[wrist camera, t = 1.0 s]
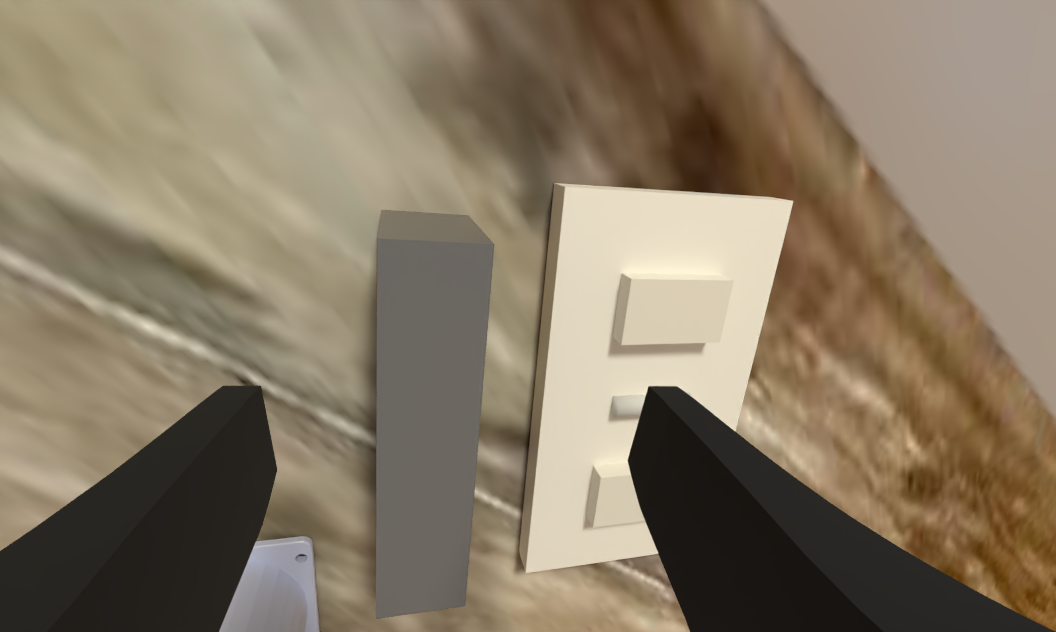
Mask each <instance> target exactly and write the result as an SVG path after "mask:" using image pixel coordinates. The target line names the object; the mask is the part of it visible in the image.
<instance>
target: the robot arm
mask: <svg viewBox="0 0 1056 632" xmlns="http://www.w3.org/2000/svg"><path fill="white" fill-rule="evenodd" d="M627 461H628V465H629V469H630V473H631V477H632V481H633V485H634V488H635V492H636V495H637V499H638V502H639V506H640V509H641V512H642V514H643V517H644V519H645V522H646V524H647V527H648V529H649V532H650V534H651V537H652V539H653V541H654V544H655V546H656V549H657V551H658V554H659V556H660V558H661V561H662V563H663V566H664V568H665V571H666V573H667V575H668V578H669V580H670V583H671V585H672V587H673V590H674V592H675V595H676V597H677V599H678V602H679V604H680V607H681V609H682V612H683V614H684V616H685V619H686V621H687V624H688V627H689V629H690V632H1055V631H1053V630H1051V629H1049V628H1047V627H1045V626H1043V625H1041V624H1039V623H1037V622H1035V621H1033V620H1031V619H1028V618H1026V617H1024V616H1022V615H1020V614H1019V613H1017V612H1015V611H1013V610H1011V609H1009V608H1007V607H1005V606H1003V605H1001V604H999V603H998V602H996V601H994V600H992V599H990V598H988V597H986V596H984V595H982V594H980V593H979V592H977V591H975V590H973V589H971V588H969V587H968V586H966V585H964V584H962V583H961V582H959V581H957V580H955V579H953V578H952V577H950V576H948V575H946V574H944V573H943V572H941V571H939V570H937V569H936V568H934V567H932V566H930V565H928V564H927V563H925V562H923V561H921V560H920V559H918V558H916V557H915V556H913V555H911V554H910V553H908V552H906V551H905V550H903V549H901V548H899V547H898V546H896V545H895V544H893V543H891V542H890V541H888V540H887V539H885V538H883V537H882V536H880V535H879V534H877V533H876V532H874V531H872V530H871V529H869V528H868V527H866V526H865V525H863V524H861V523H860V522H858V521H857V520H855V519H853V518H852V517H850V516H849V515H847V514H846V513H844V512H843V511H841V510H840V509H838V508H837V507H835V506H834V505H833V504H831V503H830V502H828V501H827V500H825V499H824V498H823V497H821V496H820V495H818V494H817V493H816V492H814V491H813V490H811V489H810V488H809V487H807V486H806V485H804V484H803V483H802V482H800V481H799V480H797V479H796V478H795V477H793V476H792V475H791V474H789V473H788V472H787V471H785V470H784V469H783V468H781V467H780V466H779V465H777V464H776V463H775V462H773V461H772V460H771V459H769V458H768V457H767V456H765V455H764V454H763V453H762V452H760V451H759V450H758V449H757V448H755V447H754V446H753V445H751V444H750V443H749V442H748V441H746V440H745V439H744V438H743V437H741V436H740V435H739V434H738V433H736V432H735V431H734V430H733V429H731V428H730V427H729V426H728V425H726V424H725V423H724V422H723V421H721V420H720V419H719V418H718V417H716V416H715V415H714V414H713V413H711V412H710V411H709V410H708V409H706V408H705V407H704V406H703V405H701V404H700V403H699V402H698V401H696V400H695V399H694V398H693V397H691V396H690V395H689V394H687V393H686V392H685V391H683V390H682V389H680V388H679V387H677V386H648V390H647V393H646V397H645V400H644V404H643V407H642V411H641V414H640V418H639V421H638V425H637V429H636V432H635V436H634V439H633V443H632V446H631V450H630V453H629V457H628V460H627ZM276 473H277V466H276V461H275V456H274V451H273V446H272V441H271V435H270V430H269V425H268V420H267V415H266V410H265V404H264V399H263V394H262V389H261V386H222V387H221V388H220V389H218V390H217V391H216V392H214V393H213V394H212V395H210V396H209V397H208V398H206V399H205V400H204V401H203V402H201V403H200V404H199V405H197V406H196V407H195V408H194V409H192V410H191V411H190V412H189V413H187V414H186V415H185V416H184V417H182V418H181V419H180V420H179V421H177V422H176V423H175V424H174V425H172V426H171V427H170V428H169V429H167V430H166V431H165V432H164V433H162V434H161V435H160V436H158V437H157V438H156V439H155V440H153V441H152V442H151V443H149V444H148V445H147V446H145V447H144V448H143V449H142V450H140V451H139V452H138V453H136V454H135V455H134V456H133V457H131V458H130V459H129V460H127V461H126V462H125V463H124V464H122V465H121V466H120V467H118V468H117V469H116V470H114V471H113V472H112V473H110V474H109V475H108V476H106V477H105V478H104V479H102V480H101V481H99V482H98V483H97V484H95V485H94V486H92V487H91V488H90V489H88V490H87V491H85V492H84V493H83V494H81V495H80V496H78V497H77V498H76V499H74V500H73V501H71V502H70V503H69V504H67V505H66V506H65V507H63V508H62V509H60V510H59V511H58V512H56V513H55V514H53V515H52V516H51V517H49V518H48V519H46V520H45V521H44V522H42V523H41V524H39V525H38V526H37V527H35V528H34V529H32V530H31V531H29V532H28V533H26V534H25V535H23V536H22V537H20V538H19V539H18V540H16V541H15V542H13V543H12V544H10V545H9V546H7V547H6V548H4V549H2V550H1V551H0V632H320V626H319V613H318V600H317V588H316V575H315V562H314V549H313V542H312V540H311V539H310V538H308V537H306V536H300V537H291V538H282V539H273V540H265V541H256V540H257V537H258V535H259V532H260V530H261V527H262V525H263V521H264V518H265V514H266V510H267V507H268V503H269V500H270V496H271V492H272V488H273V484H274V480H275V476H276ZM299 554H305V555H306V556H299Z"/></svg>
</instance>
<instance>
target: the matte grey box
mask: <svg viewBox="0 0 1056 632" xmlns="http://www.w3.org/2000/svg"><path fill="white" fill-rule="evenodd" d="M493 254H494V244H493V242H492V241H491V240H490V239H489V238H488V237H487V236H486V235H485V233H484V232H483V231H482V230H481V229H480V228H479V227H478V226H477V225H476V223H475V222H474V221H473V220H472V219H471V218H470V217H469V216H466V215H452V214H437V213H422V212H407V211H392V210H381V216H380V223H379V230H378V236H377V426H376V619H379V618H386V617H393V616H400V615H407V614H414V613H421V612H428V611H435V610H442V609H449V608H456V607H463V606H465V601H466V589H467V576H468V564H469V552H470V539H471V527H472V514H473V502H474V490H475V477H476V465H477V452H478V440H479V428H480V415H481V403H482V390H483V378H484V366H485V353H486V341H487V328H488V316H489V304H490V291H491V279H492V266H493Z"/></svg>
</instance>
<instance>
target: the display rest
mask: <svg viewBox="0 0 1056 632" xmlns="http://www.w3.org/2000/svg"><path fill="white" fill-rule="evenodd" d="M792 204H793V201H790V200H784V199H778V198H773V197H761V196H745V195H730V194H714V193H699V192H683V191H668V190H652V189H637V188H621V187H606V186H590V185H574V184H559V183H554V190H553V200H552V211H551V221H550V232H549V242H548V253H547V263H546V274H545V284H544V295H543V305H542V316H541V326H540V337H539V347H538V358H537V368H536V379H535V389H534V400H533V410H532V421H531V431H530V442H529V452H528V463H527V473H526V484H525V494H524V505H523V515H522V526H521V536H520V547H519V553H520V556H521V560H522V563H523V566H524V570H525V573H530V572H537V571H544V570H551V569H558V568H564V567H571V566H578V565H585V564H592V563H598V562H605V561H612V560H619V559H626V558H632V557H639V556H646V555H653V554H658V551H657V549H656V546H655V544H654V541H653V539H652V537H651V534H650V532H649V529H648V527H647V524H646V522H645V519H644V517H643V514H642V512H641V509H640V506H639V502H638V499H637V495H636V492H635V488H634V485H633V481H632V477H631V473H630V469H629V465H628V461H627V460H628V457H629V453H630V450H631V446H632V443H633V439H634V436H635V432H636V429H637V425H638V421H639V418H640V414H641V411H642V407H643V404H644V400H645V397H646V393H647V390H648V386H677V387H679V388H680V389H682V390H683V391H685V392H686V393H687V394H689V395H690V396H691V397H693V398H694V399H695V400H696V401H698V402H699V403H700V404H701V405H703V406H704V407H705V408H706V409H708V410H709V411H710V412H711V413H713V414H714V415H715V416H716V417H718V418H719V419H720V420H721V421H723V422H724V423H725V424H726V425H728V426H729V427H730V428H731V429H733V430H734V431H736V427H737V423H738V419H739V415H740V411H741V407H742V403H743V399H744V395H745V391H746V387H747V383H748V379H749V375H750V371H751V367H752V363H753V359H754V355H755V351H756V347H757V343H758V339H759V335H760V331H761V328H762V324H763V320H764V316H765V312H766V308H767V304H768V300H769V296H770V292H771V288H772V284H773V280H774V276H775V272H776V268H777V264H778V260H779V256H780V252H781V248H782V244H783V240H784V236H785V232H786V228H787V224H788V220H789V216H790V212H791V208H792Z"/></svg>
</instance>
